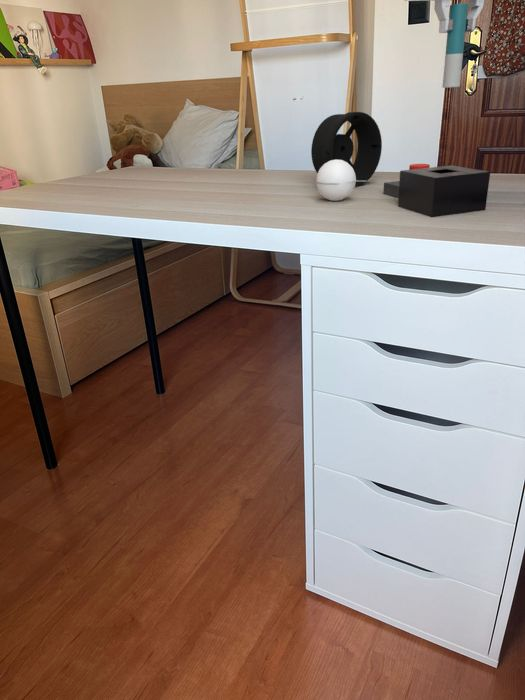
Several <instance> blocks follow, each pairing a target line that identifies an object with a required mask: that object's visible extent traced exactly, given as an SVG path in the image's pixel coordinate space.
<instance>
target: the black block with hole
mask: <svg viewBox="0 0 525 700" xmlns="http://www.w3.org/2000/svg"><path fill="white" fill-rule="evenodd" d="M490 178H491V171H487V170H483V169H477V168H476V169H475V168H469V167H464V166H457V165H442V166H441V165H440V166H433V167H429V168H422V169H412V170H409V169H404V170H400V171H399V181H400V182H399V198H397V199H398V200H397V207H398V208H401V209H404V210H407V211H411V212H413V213H416V214H419V215H422V216H426V217H429V218H437V217H444V216H452V215H459V214H468V213H475V212H483V211H486V208H487V200H488V193H489V187H490Z"/></svg>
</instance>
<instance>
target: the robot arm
mask: <svg viewBox="0 0 525 700" xmlns="http://www.w3.org/2000/svg"><path fill="white" fill-rule="evenodd" d="M403 1H404V2H424V1H425V2H429V1H430V2H431V1H434V6H433V10H434V12H435V14H436V17H437V19H438V21H439V23H438V24H439V25H438V33H439V34H447V33H449V32H452V30H453V26H452V25H453V22H454V19H449V12H448V9H447V8H448V7H449V8H450V5H451V4H450V3H451V0H403ZM467 4H468V9H470V10H469V12H468V13H467V21H466V30H465V33H473V32H474V31H475V28H476V19H478V17H479V15H480V14H481V11H482V10H483V8H484V6H485V0H468V3H467Z"/></svg>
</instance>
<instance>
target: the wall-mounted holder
mask: <svg viewBox="0 0 525 700" xmlns="http://www.w3.org/2000/svg"><path fill="white" fill-rule="evenodd" d="M345 123H350V126H349V128H348V129H347V131H346V132H345V133H338V132H339V130H340V129H341V127H342V126H343V125H344V124H345ZM354 131H355V135H356V140H357V141H356V142H357V150H356V151H357V152H356V156H355V159H354V162H353V163H352V161H351V159H352V158H353V157H352V156H353V154H354V147H355V146H354V142H353V139H352V137H351V136H352V135H353V132H354ZM381 134H382V133H381V131H380V128H379V125H378V123H377V121H376V120H375V119H374V118H373V116H371V115H370V114H368V113H366V112H363V111H349V112H347V113H338V114H337V113H336V114H332V115H330V116H328V117H326V118H325V119H324V120H322V121H321V123H320V124H319V125H318V127H317V129H316V130H315V132H314V134H313V135H314V136H313V138H312V142H311V150H310V151H311V153H310V154H311V161H312V166H313V168H314V170H315V172H316V173H317V174H318V172H319V169H320V168H321V167H322V166H323V165H324V164H325V163H327V162H329V161H330V160H343V161H345V162H347V163H348V164H349V165H350V166H351V167H352V168H353V170H354V172H355V175H356V183H355V187H354V188H358V187H360V186H362V185H364V184H365V183H367V182H368V181H369V180H370V179H371V178H372V177H373V175H374V174H375V172H376V170H377V168H378V166H379V163H380V161H381V156H382V150H383V148H382V147H383V141H382V135H381ZM317 174H316V175H317Z"/></svg>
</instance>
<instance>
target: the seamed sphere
mask: <svg viewBox="0 0 525 700" xmlns="http://www.w3.org/2000/svg"><path fill="white" fill-rule="evenodd" d="M315 182H316V188H317V190H318V192H319V194H320V195H321V196H322V197H323V198H324V199H326V200H329V201H331V202H339V201H343V200H345V199H346V198H348V197H349V196H350V195H351V194H352V193H353V191H354V189H355V188H356V187H355V183H356V175H355V172H354V170H353V168H352V167H351V166H350V165H349V164H348V163H347V162H345V161H343V160H330V161H329V162H327V163H325V164H324V165H323V166H322V167H321V168H320V169H319V172H318V174H316V179H315Z"/></svg>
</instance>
